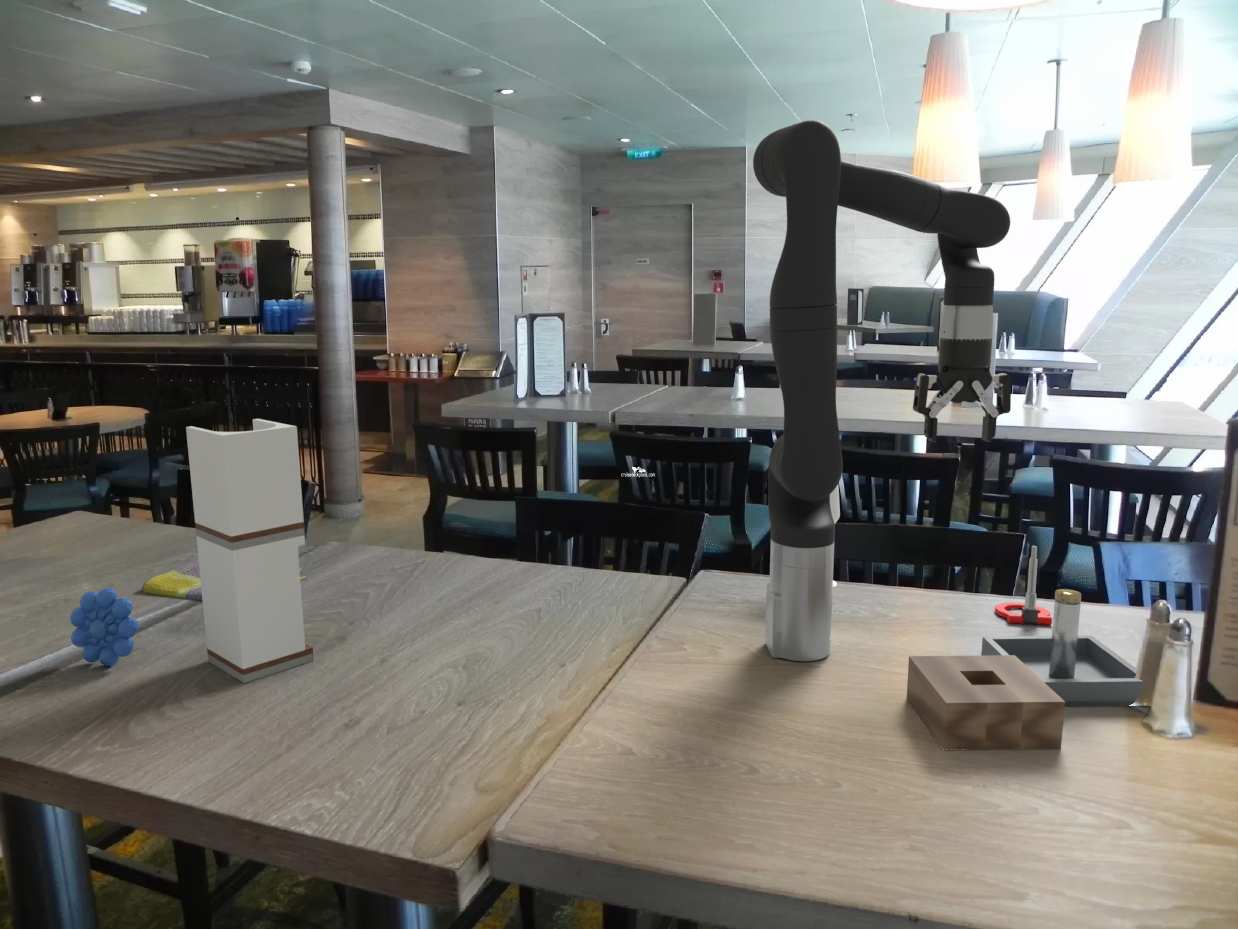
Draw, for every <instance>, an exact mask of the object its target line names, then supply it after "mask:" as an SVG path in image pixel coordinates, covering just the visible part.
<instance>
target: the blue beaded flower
mask: <svg viewBox="0 0 1238 929" xmlns="http://www.w3.org/2000/svg"><path fill="white" fill-rule="evenodd" d="M132 610H133V603H132V601H131V600H130V599H128V598H127V597H120V598H118V593H117V591H116V590H115V589H113V588H112V587H104V588H102V589H100V590H99V591H98V593H97V592H96V591H92V590H91V591H90V590H89V591H87V592H85V593H84V594H82V596H81V598H80V600H79V606H78V607H76V608H74V609H73V610H72V612H70V617H69V620H70V621H69V622H70V624H71V625H72V626H74V627H75V629H74V630H73V632H72V634H71V636H70V640H71V641H70V642H71V643H72V644H73V646H75V647H77V648H82V658H83V660H85V661H86V662H87V663H95V662H98V661H99V663H100V664H101V665H103V666H105V667H112V666H114V665H116V663H117V662H118V661H119V659H120V657H122V658H124V657H126V656H129V655H130V654H131V653H132V651H133V650H134V646H135V645H134V643H135V642H134V640H133V639H132V638H133V637H135V635H136V634H137V633H138V631H139V628H140V624H139V620H137V619H136V618H134V617H132V616H130V615H131V613H132Z"/></svg>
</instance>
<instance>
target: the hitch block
mask: <svg viewBox="0 0 1238 929" xmlns="http://www.w3.org/2000/svg"><path fill="white" fill-rule="evenodd" d="M907 665H908V667H907V668H908V669H907V670H908V671H907V684H906V685H907V686H906V687H907V688H906V700H907V701H908V703H909V704H910V705H911V707H912V709H913V711H915V713H916V714H917V716H918V717H919V718H920V720H921V721H922V722H923V724H924V725H925V727H926V728H927V730H928V731H929V733H930V734H931V735H932V737H933V736H934V737H933V738H934V739H935V740H937V741H936V742H937V743H939V746H940V748H941V747H942V748H941V750H943V749H944V750H943V751H962V750H961V749H965V750H964V751H967V750H966V749H970V750H969V751H972V750H971V749H975V750H974V751H977V750H976V749H982V750H983V749H996V750H1001V749H1002V750H1003V749H1004V751H1006V750H1008V749H1009V750H1061V749H1062V740H1063V731H1064V730H1063V727H1064V718H1065V717H1064V716H1065V708H1066V707H1065V701H1064V700H1063V699H1062V698H1061V697H1059V696H1058V695H1057V694H1056V693H1055V692H1054V691H1053V690H1052V689H1051V688H1050V687H1049V686H1048V685H1046V684H1045V683H1044V682H1043V681H1042V680H1041V679H1040V678H1039V677H1038V676H1037V675H1036V674H1035V673H1033V672H1032V671H1031V670H1030V669H1029V668H1028V667H1027V666H1026V665H1025V664H1024V663H1023V662H1022V661H1020V660H1019V659H1018V658H1017V657H1016V656H1015V655H989V656H981V655H912V656H911V655H909V656H908V664H907ZM946 749H947V750H946ZM948 749H950V750H948ZM951 749H952V750H951ZM954 749H955V750H954ZM956 749H958V750H956ZM959 749H960V750H959ZM982 750H981V751H982ZM1002 750H1001V751H1002ZM983 751H984V750H983Z"/></svg>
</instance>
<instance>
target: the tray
mask: <svg viewBox="0 0 1238 929" xmlns="http://www.w3.org/2000/svg"><path fill="white" fill-rule="evenodd" d="M981 639H982V640H981V652H980V654H981V655H980V656H989V655H1015V656H1016V657H1017V658H1018V659H1019V660H1020V661H1022V662H1023V663H1024V664H1025V665H1026V666H1027V667H1028V668H1029V669H1030V670H1031V671H1032V672H1033V673H1035V674H1036V675H1037V676H1038V677H1039V678H1040V679H1041V680H1042V681H1043V682H1044V683H1045V684H1046V685H1048V686H1049V687H1050V688H1051V689H1052V690H1053V691H1054V692H1055V693H1056V694H1057V695H1058V696H1059V697H1061V698H1062V699H1063V700H1064V701H1065V708H1110V707H1113V708H1115V707H1116V708H1117V707H1125V708H1126V707H1128V706H1129V705H1131V704H1133V703H1134V702H1135V700H1136V699H1137V697H1138V696H1139V693H1140V690H1141V689H1142V688H1141V687H1142V684H1143V681H1142V680H1140V679H1138V678H1135V676H1136V668H1137V667H1135V666H1134V665H1132V664H1131V663H1130V662H1128V661H1127V660H1125V658H1123V657H1122V656H1120V655H1119V654H1117V652H1115V651H1114V650H1113V649H1111V648H1109V647H1108V646H1107V645H1105V644H1104V643H1102V642H1101V641H1100V640H1098V639H1097V638H1096V637H1095V636H1093V635H1078V639H1077V651H1076V663H1075V675H1074V679H1054V678H1052V677H1050V676H1049V665H1050V652H1051V640H1052V635H1027V636H1026V635H1020V636H1019V635H1015V636H1014V635H1013V636H1012V635H1011V636H1008V635H1005V636H1004V635H1002V636H994V635H993V636H982V638H981ZM1137 695H1138V696H1137Z"/></svg>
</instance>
